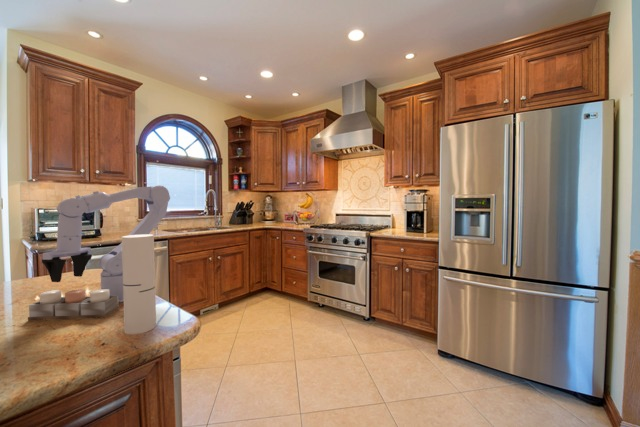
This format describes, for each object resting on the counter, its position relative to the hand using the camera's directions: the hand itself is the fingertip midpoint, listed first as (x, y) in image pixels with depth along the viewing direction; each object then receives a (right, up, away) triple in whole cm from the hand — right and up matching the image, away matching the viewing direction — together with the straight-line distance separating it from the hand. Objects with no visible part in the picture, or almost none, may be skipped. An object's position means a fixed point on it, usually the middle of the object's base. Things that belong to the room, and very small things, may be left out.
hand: (67, 279), depth 87 cm
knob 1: (0, -7, -5) cm, 8 cm away
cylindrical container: (+32, -10, -13) cm, 36 cm away
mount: (+7, -10, -4) cm, 13 cm away
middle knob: (+7, -7, -4) cm, 10 cm away
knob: (+14, -7, -4) cm, 16 cm away
